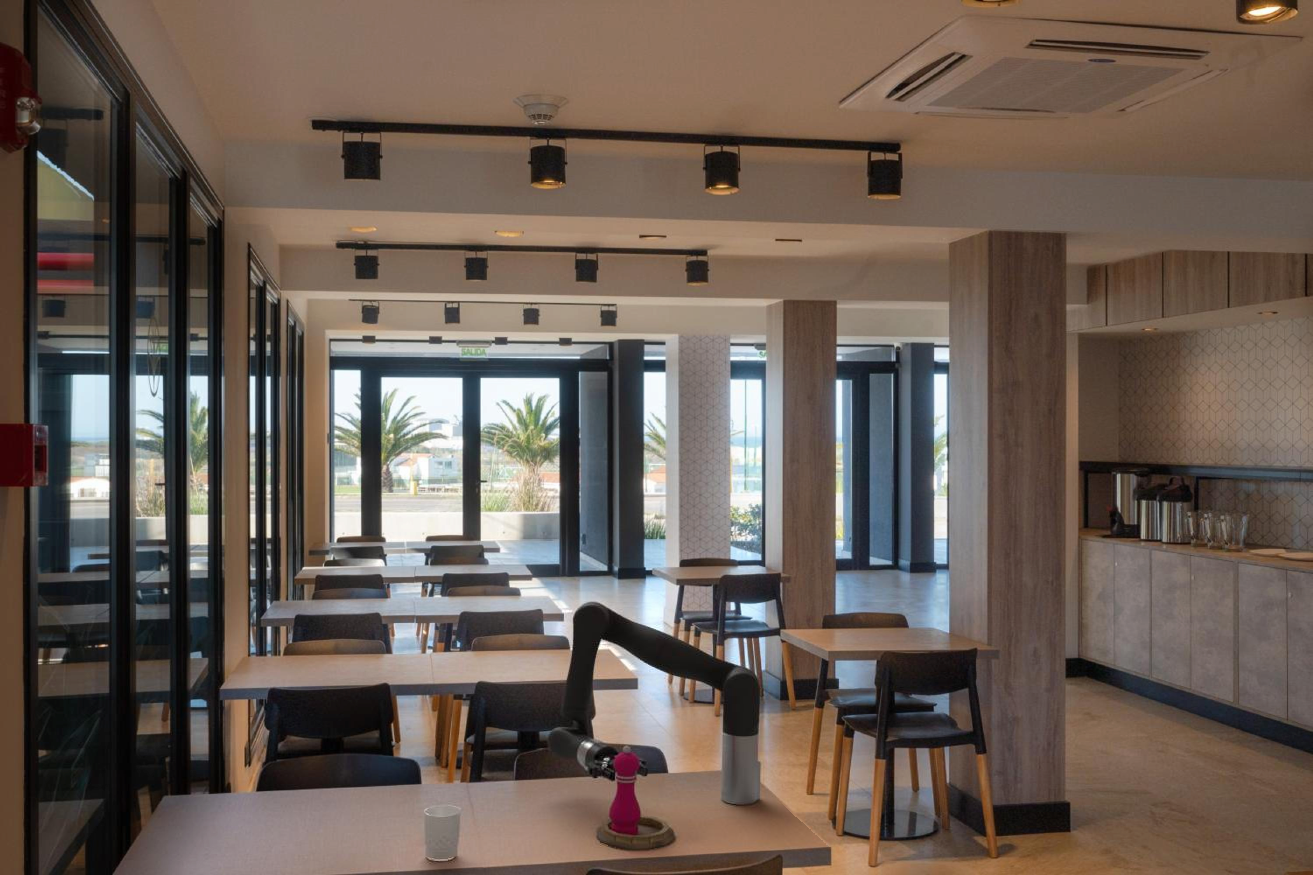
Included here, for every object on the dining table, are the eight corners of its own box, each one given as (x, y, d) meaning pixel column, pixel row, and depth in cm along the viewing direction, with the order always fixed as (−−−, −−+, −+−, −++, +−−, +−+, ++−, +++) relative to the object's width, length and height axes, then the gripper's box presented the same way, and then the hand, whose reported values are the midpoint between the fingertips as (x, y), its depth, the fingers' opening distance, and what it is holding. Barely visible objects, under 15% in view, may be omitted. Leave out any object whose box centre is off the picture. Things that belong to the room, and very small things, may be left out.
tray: (640, 818, 283) (641, 808, 283) (690, 839, 269) (690, 828, 269) (580, 833, 272) (580, 822, 272) (629, 855, 258) (629, 844, 258)
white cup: (425, 850, 258) (426, 804, 258) (461, 850, 259) (462, 804, 259) (421, 863, 251) (422, 816, 251) (458, 862, 251) (459, 816, 251)
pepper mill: (636, 839, 265) (639, 750, 266) (605, 836, 267) (608, 748, 267) (643, 829, 272) (645, 743, 273) (612, 826, 274) (615, 740, 274)
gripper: (572, 745, 284) (603, 761, 270) (623, 738, 291) (657, 754, 277) (571, 776, 284) (602, 794, 270) (623, 769, 291) (656, 786, 277)
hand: (630, 774), depth 273 cm, fingers open, 8 cm apart
